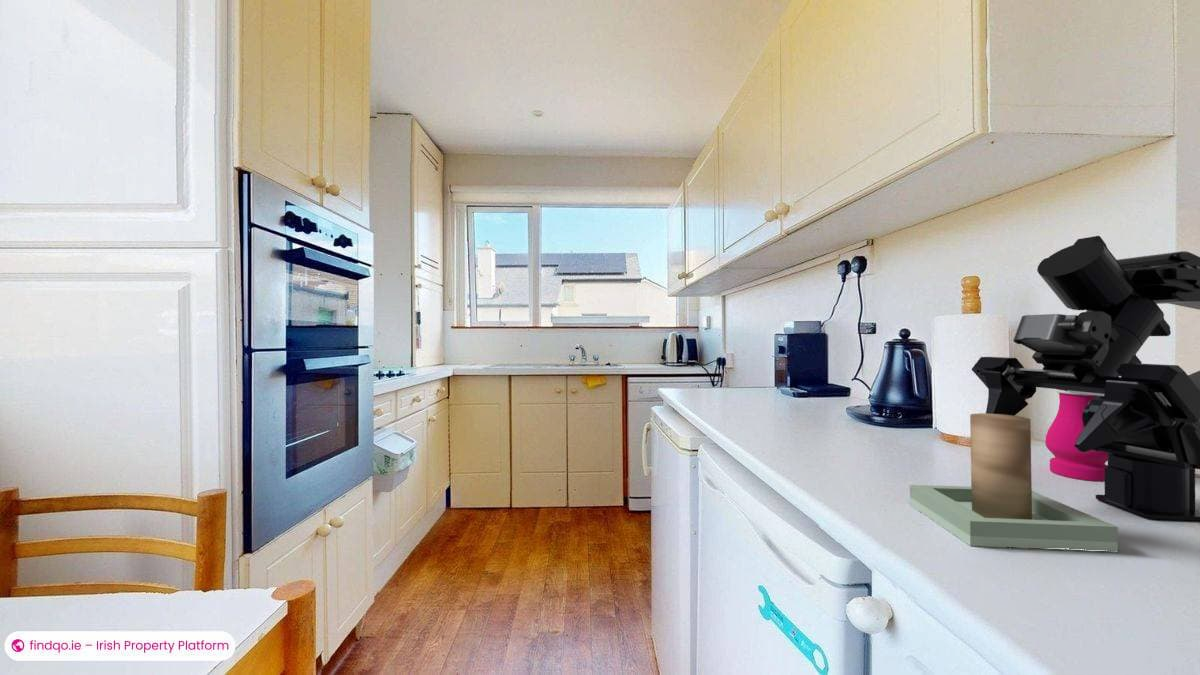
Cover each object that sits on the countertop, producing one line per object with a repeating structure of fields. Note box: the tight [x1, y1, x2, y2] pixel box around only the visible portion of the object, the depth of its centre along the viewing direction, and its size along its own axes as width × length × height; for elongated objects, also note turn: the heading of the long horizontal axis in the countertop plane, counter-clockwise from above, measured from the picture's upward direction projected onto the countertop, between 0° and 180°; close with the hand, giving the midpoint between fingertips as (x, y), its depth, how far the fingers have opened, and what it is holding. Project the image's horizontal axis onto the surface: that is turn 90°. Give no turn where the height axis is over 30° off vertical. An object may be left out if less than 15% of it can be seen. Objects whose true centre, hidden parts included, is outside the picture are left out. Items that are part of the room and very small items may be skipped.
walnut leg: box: [969, 412, 1033, 520], centre depth 50 cm, size 5×5×11 cm
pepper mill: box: [1044, 389, 1111, 482], centre depth 67 cm, size 7×7×20 cm
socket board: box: [909, 484, 1119, 551], centre depth 50 cm, size 13×11×2 cm
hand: (1028, 438), depth 51 cm, fingers open, 9 cm apart
